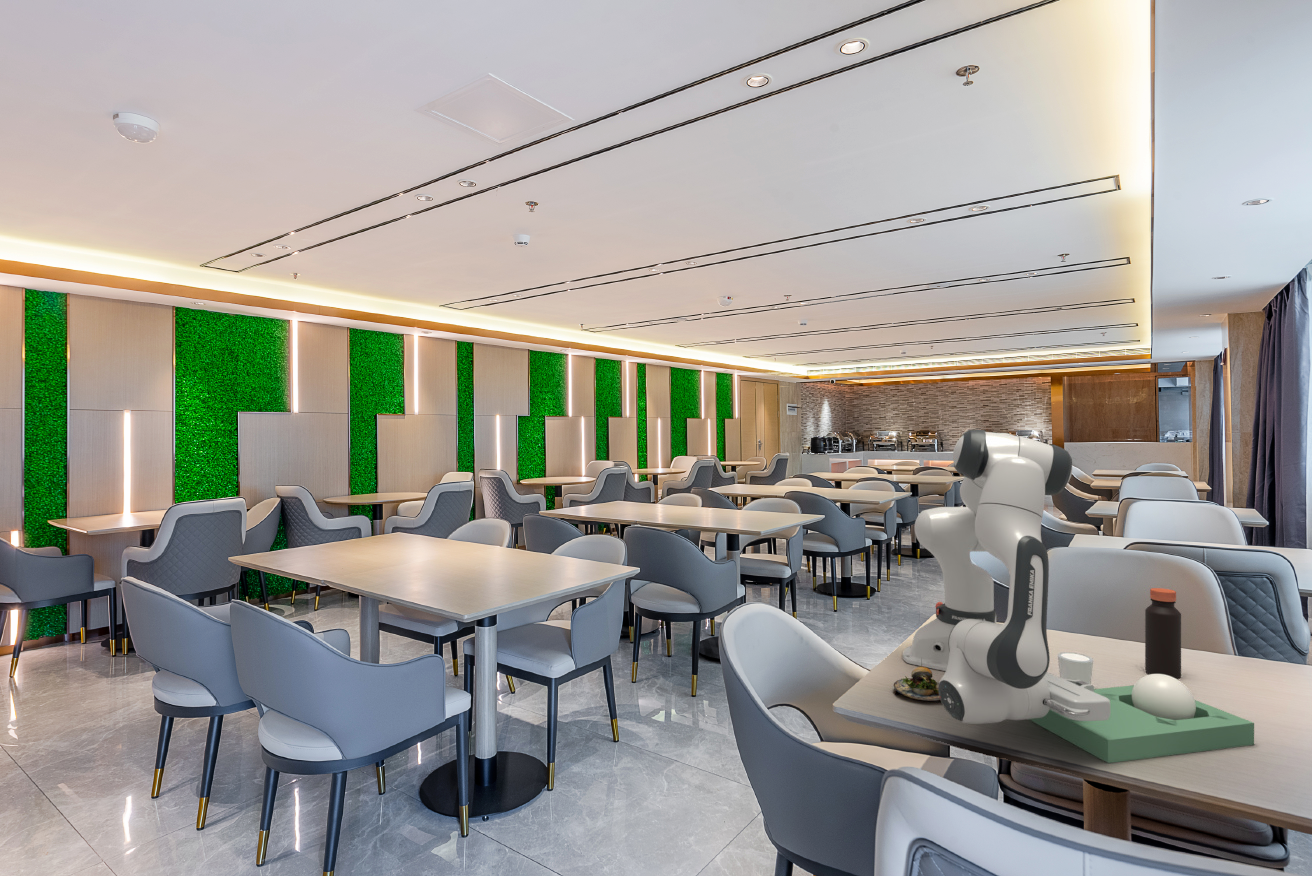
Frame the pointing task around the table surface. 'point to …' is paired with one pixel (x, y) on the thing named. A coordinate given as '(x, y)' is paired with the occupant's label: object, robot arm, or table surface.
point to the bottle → (1163, 634)
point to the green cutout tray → (1149, 730)
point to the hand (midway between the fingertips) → (1087, 686)
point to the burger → (918, 685)
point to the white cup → (1075, 666)
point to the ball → (1163, 697)
